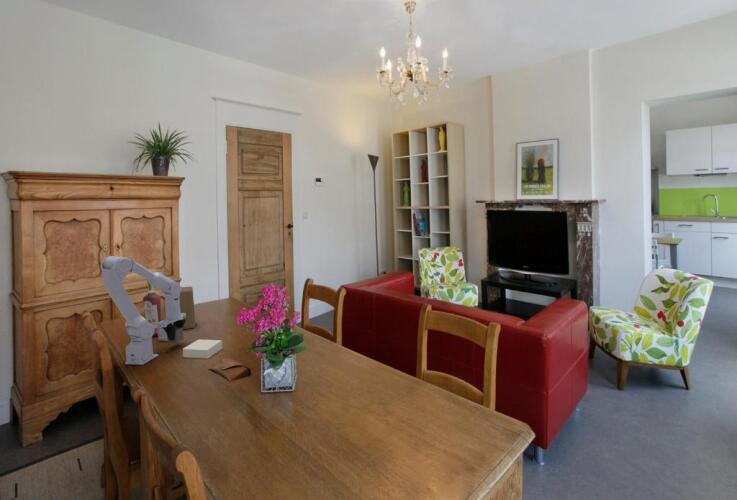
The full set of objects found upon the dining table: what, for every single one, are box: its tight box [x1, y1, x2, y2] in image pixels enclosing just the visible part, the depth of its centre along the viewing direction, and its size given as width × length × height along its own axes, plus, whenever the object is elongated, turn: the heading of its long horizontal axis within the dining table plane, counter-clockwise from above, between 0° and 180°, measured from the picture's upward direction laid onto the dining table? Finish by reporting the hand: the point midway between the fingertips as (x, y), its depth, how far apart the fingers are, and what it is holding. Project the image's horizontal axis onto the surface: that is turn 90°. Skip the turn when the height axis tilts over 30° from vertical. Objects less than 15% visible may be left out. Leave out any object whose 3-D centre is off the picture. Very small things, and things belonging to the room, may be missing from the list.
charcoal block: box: [166, 327, 184, 344], centre depth 171 cm, size 4×4×6 cm
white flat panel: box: [182, 339, 223, 359], centre depth 164 cm, size 11×11×4 cm
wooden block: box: [179, 286, 196, 330], centre depth 198 cm, size 10×10×20 cm
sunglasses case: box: [207, 355, 252, 383], centre depth 146 cm, size 18×7×7 cm, turn 50°
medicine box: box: [157, 320, 173, 342], centre depth 180 cm, size 8×4×9 cm, turn 84°
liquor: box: [142, 279, 162, 338], centre depth 186 cm, size 7×7×28 cm
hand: (175, 337), depth 171 cm, fingers closed on charcoal block, 4 cm apart
